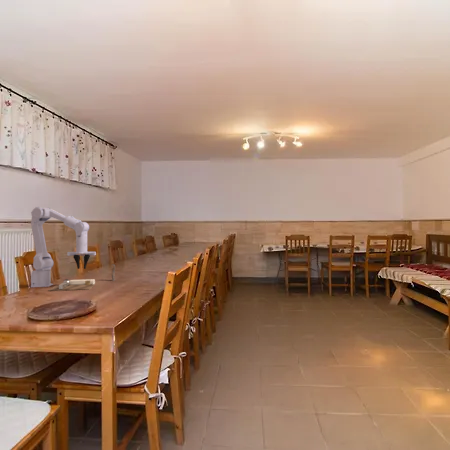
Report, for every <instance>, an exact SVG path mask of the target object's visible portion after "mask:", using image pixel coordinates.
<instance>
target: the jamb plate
mask: <svg viewBox="0 0 450 450" xmlns="http://www.w3.org/2000/svg"><path fill="white" fill-rule="evenodd" d="M64 280H69V279H68V278H66V279H64ZM59 285H60V284H59ZM59 285H55V286H52V287H51V288H49V289H47V290H48V292H60V291H61V292H62V291H63V292H64V291H66V292H67V291H88V290H89V291H90V290H91V289H92V288H93V287H95V285H96V283H95V284H90V281H85V284H84V285H69V286H67V287H65V288H63V289H59Z"/></svg>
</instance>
